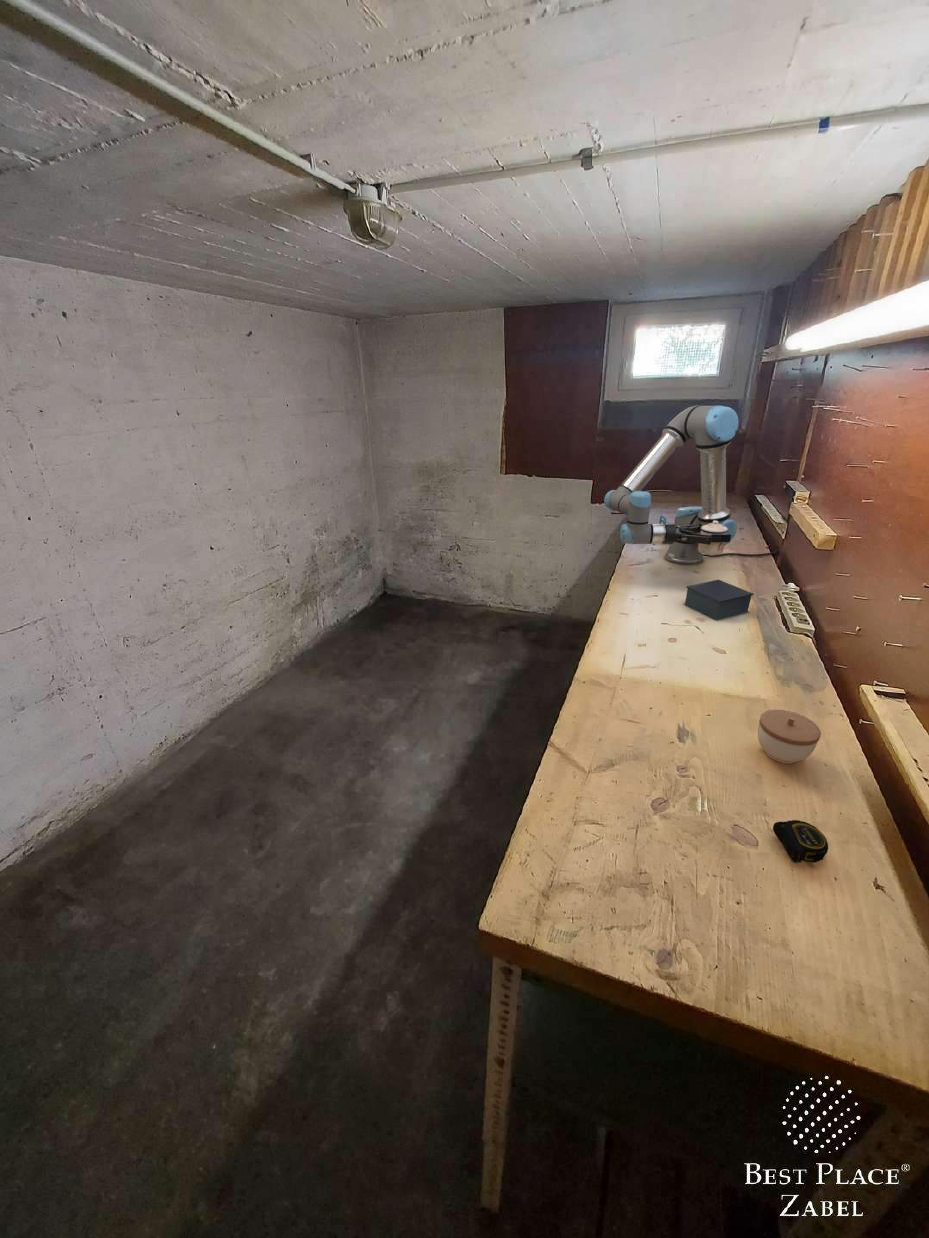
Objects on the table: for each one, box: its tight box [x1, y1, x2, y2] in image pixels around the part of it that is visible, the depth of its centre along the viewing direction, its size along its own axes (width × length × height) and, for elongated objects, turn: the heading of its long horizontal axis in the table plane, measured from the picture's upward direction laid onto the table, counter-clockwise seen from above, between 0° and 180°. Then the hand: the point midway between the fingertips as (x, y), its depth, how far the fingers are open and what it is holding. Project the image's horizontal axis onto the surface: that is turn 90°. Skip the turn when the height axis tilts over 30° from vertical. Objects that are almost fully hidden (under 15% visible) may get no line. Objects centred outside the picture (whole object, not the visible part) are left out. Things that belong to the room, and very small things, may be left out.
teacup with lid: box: [698, 521, 728, 555], centre depth 180 cm, size 12×9×12 cm
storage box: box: [684, 579, 754, 621], centre depth 167 cm, size 15×15×7 cm
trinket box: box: [757, 709, 822, 765], centre depth 101 cm, size 11×11×9 cm
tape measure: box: [772, 819, 829, 864], centre depth 82 cm, size 7×7×4 cm
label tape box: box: [658, 514, 670, 525], centre depth 238 cm, size 9×4×12 cm, turn 179°
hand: (724, 533), depth 179 cm, fingers closed on teacup with lid, 11 cm apart
